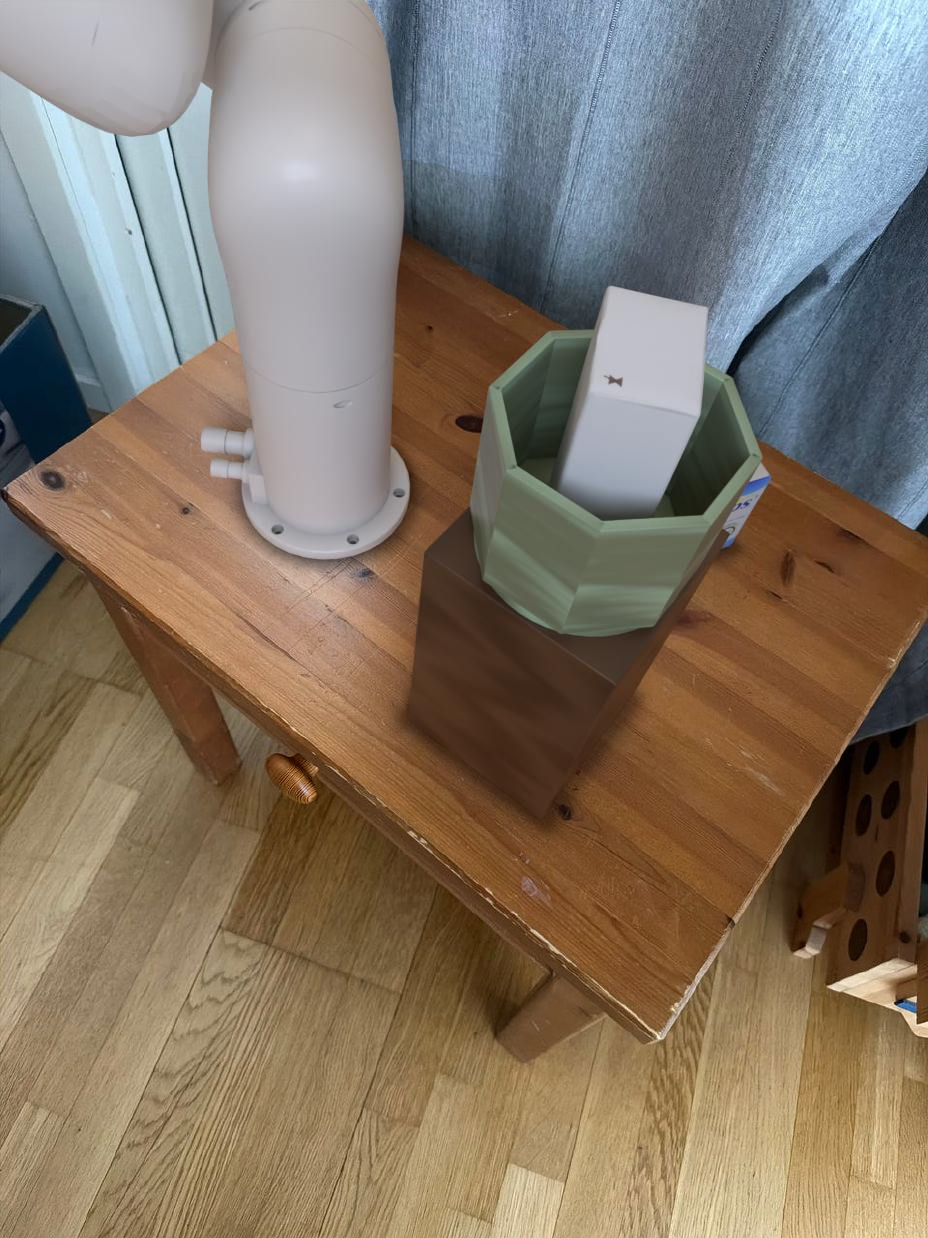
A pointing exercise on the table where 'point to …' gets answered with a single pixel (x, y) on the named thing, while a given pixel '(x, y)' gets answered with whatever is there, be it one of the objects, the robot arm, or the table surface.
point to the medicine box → (746, 503)
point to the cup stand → (560, 581)
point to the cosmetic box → (633, 405)
